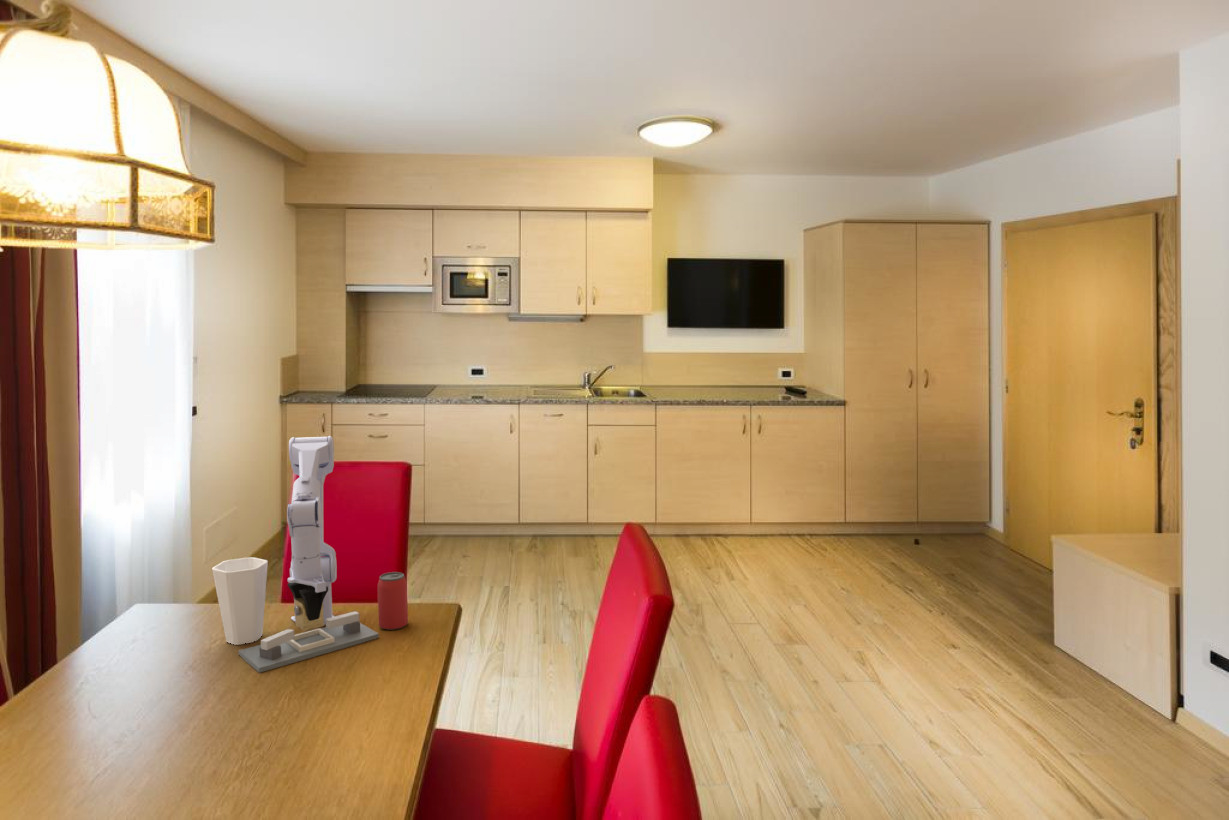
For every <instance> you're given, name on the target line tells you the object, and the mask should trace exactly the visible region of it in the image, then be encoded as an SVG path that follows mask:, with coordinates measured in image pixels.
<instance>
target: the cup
mask: <svg viewBox="0 0 1229 820" xmlns="http://www.w3.org/2000/svg"><path fill="white" fill-rule="evenodd" d="M268 562H269V561H268V560H267V559H262V558H258V557H254V556H253V557H249V556H248V557H241V558H234V559H233V558H232V559H226V560H223V561H221V562H220V563H218V564H216V565H215V566H213V567H212V568H211V569H212V570H211V571H212V576H213V581H214V586H215V592H216V595H217V596H216V597H217V601H218V605H219V612H220V615H221V621H222V622H221V623H222V626H223V630H224V631H223V632H224V637H225V642H226V643H227V642H228V643H229V644H230V643H231V645H233V644H234V645H233V646H236V645H237V646H239V645H246V644H249V643H251V644H252V643H254V641H255V642H257V641H258V640H260V638H261V636H262V637H263V632H264V631H263V629H264V616H265V603H266V591H267V590H266V589H267V576H268V566H269V565H268V564H269V563H268ZM245 643H246V644H245Z"/></svg>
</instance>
